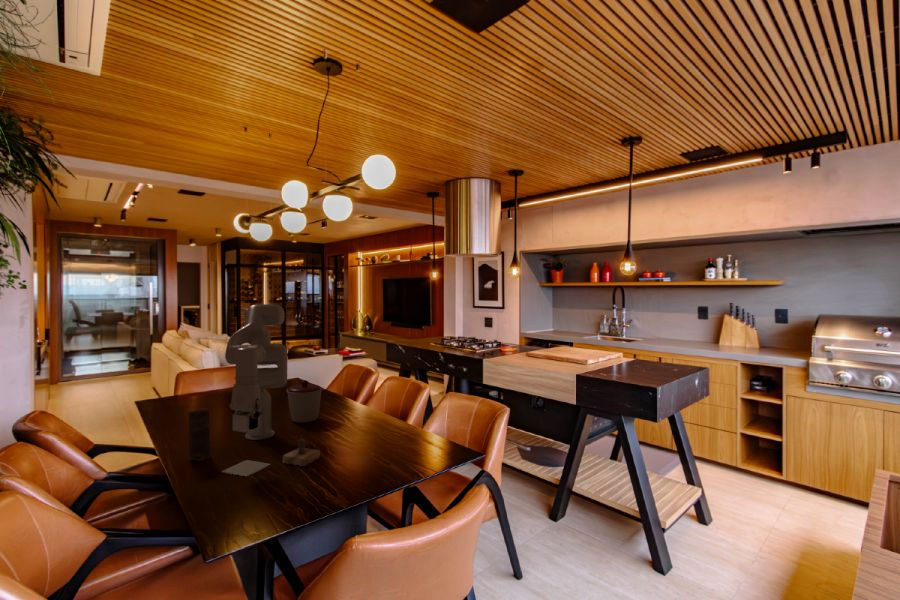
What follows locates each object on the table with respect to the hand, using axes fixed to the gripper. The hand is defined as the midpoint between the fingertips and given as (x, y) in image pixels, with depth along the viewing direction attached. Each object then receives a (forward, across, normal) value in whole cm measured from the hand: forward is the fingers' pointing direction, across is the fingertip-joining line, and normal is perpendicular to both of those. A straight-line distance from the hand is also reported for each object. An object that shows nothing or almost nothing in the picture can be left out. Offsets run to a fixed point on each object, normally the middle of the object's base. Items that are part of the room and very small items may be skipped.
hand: (246, 427), depth 163 cm
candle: (+16, -25, +1) cm, 30 cm away
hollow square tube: (+1, 0, 0) cm, 1 cm away
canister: (+16, -21, +60) cm, 66 cm away
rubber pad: (+16, 0, 0) cm, 16 cm away
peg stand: (+16, +14, +14) cm, 25 cm away
